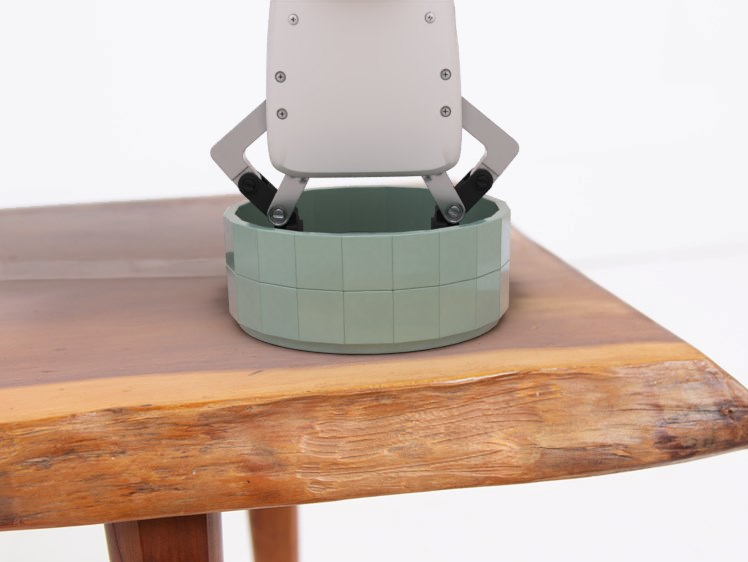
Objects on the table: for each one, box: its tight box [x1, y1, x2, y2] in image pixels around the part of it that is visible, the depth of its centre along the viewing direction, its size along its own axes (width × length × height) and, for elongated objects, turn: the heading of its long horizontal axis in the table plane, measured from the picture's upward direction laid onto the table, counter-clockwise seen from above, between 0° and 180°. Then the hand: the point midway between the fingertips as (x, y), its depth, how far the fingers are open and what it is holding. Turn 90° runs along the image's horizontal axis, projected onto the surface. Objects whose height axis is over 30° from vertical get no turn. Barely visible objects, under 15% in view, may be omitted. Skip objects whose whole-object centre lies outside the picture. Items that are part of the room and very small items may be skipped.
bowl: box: [222, 184, 512, 355], centre depth 61 cm, size 15×15×6 cm
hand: (368, 289), depth 62 cm, fingers closed on game controller, 7 cm apart
